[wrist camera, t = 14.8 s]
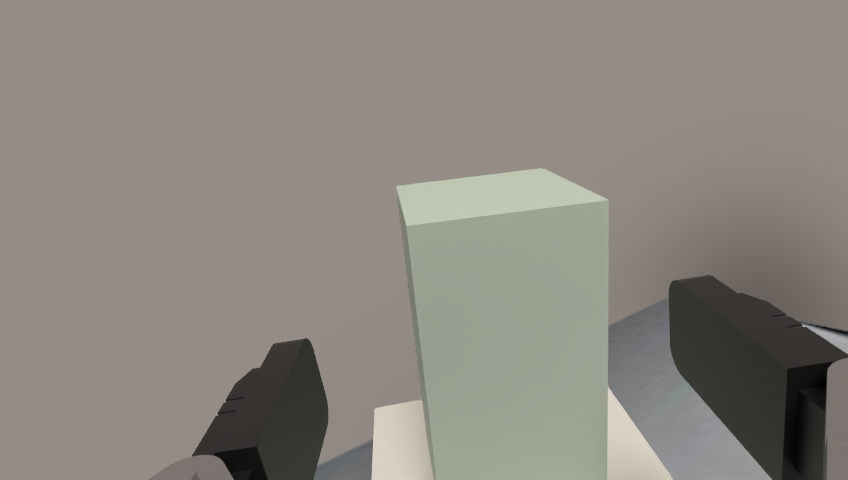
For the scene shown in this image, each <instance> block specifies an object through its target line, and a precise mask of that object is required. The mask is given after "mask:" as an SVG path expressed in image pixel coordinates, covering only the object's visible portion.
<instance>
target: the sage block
mask: <svg viewBox="0 0 848 480" xmlns="http://www.w3.org/2000/svg"><path fill="white" fill-rule="evenodd" d="M396 189H397V198H398V206H399V214H400V223H401V231H402V239H403V247H404V255H405V263H406V271H407V279H408V288H409V296H410V305H411V312H412V321H413V329H414V337H415V346H416V354H417V362H418V370H419V379H420V386H421V394H422V403H423V411H424V420H425V428H426V436H427V443H428V449H429V455H430V461H431V467H432V474H433V480H607V442H608V267H609V265H608V264H609V261H608V260H609V257H608V256H609V254H608V253H609V252H608V251H609V200H607V199H605V198H604V197H601V196H599V195H597V194H595V193H593V192H591V191H589V190H587V189H585V188H583V187H581V186H579V185H577V184H575V183H572V182H570V181H568V180H566V179H564V178H562V177H560V176H558V175H556V174H554V173H552V172H550V171H548V170H546V169H543V168H541V169H533V170H524V171H517V172H508V173H501V174H492V175H484V176H475V177H467V178H459V179H451V180H443V181H434V182H426V183H418V184H411V185H402V186H396Z"/></svg>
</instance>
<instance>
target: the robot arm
mask: <svg viewBox="0 0 848 480" xmlns="http://www.w3.org/2000/svg"><path fill="white" fill-rule="evenodd" d="M669 318H670V347H671V353H672V357H673V360H674V363H675V365H676V367H677V369H678V371H679V373H680V374H681V375H682V376H683V378H684V379H685V380H686V381H687V382H688V383H689V384H690V386H691V387H692V388H693V389H694V390H695V391H696V392H697V394H698V395H699V396H700V397H701V398H702V399H703V400H704V402H705V403H706V404H707V405H708V406H709V407H710V409H711V410H712V411H713V412H714V413H715V414H716V415H717V417H718V418H719V419H720V420H721V421H722V422H723V423H724V425H725V426H726V427H727V428H728V429H729V430H730V431H731V433H732V434H733V435H734V436H735V437H736V438H737V440H738V441H739V442H740V443H741V444H742V445H743V446H744V448H745V449H746V450H747V451H748V452H749V453H750V454H751V456H752V457H753V458H754V459H755V460H756V461H757V462H758V464H759V465H760V466H761V467H762V468H763V469H764V471H765V472H766V473H767V474H768V475H769V476H770V477H771V479H772V480H848V354H846V353H845V352H843V351H842V350H840V349H839V348H837V347H836V346H834V345H833V344H831V343H830V342H828V341H827V340H825V339H824V338H822V337H820V336H819V335H817V334H816V333H814V332H813V331H811V330H810V329H808V328H807V327H802V324H801V323H799V322H797V321H796V320H794V319H793V318H791V317H787V316H786V314H785V313H783V312H782V311H781V310H779V309H777V308H776V307H774V306H773V305H771V304H770V303H768V302H766V301H763V300H761V299H758V298H755V297H752V296H749V295H746V294H743V293H736V292H735V291H733V290H732V289H730V288H729V287H727V286H726V285H724V284H723V283H722V282H720V281H719V280H717V279H716V278H714V277H713V276H710V275H706V276H700V277H694V278H687V279H682V280H675V281H672V283H671V284H670V287H669ZM327 425H328V404H327V398H326V394H325V391H324V387H323V383H322V380H321V376H320V372H319V368H318V365H317V361H316V357H315V354H314V350H313V347H312V344H311V342H310V341H309V340H308V339H307V338H306V339H301V340H294V341H287V342H281V343H275V344H273V346H272V347H271V349H270V351H269V353H268V354H267V356H266V358H265V360H264V362H263V363H262V365H261V367H260V368H256V369H252V370H251V371H250V372H248V373H247V374H246V375H245V376H244V377H243V378H242V379H240V380H239V381H238V382H237V383H236V384H235V385H234V387H233V389H232V390H231V392H230V394H229V395H228V397H227V399H226V403H224V404H223V405H222V407H221V409H220V410H219V412H218V416H216V417H215V419H214V420H213V422H212V424H211V425H210V427H209V429H208V430H207V432H206V434H205V435H204V437H203V439H202V440H201V442H200V443H199V445H198V447H197V448H196V450H195V452H194V454H193V455H192V457H189V458H186V459H183V460H180V461H178V462H176V463H174V464H172V465H170V466H168V467H166V468H165V469H163V470H162V471H160V472H159V473H157V474H156V475H155V476H154V477H152V478H151V479H150V480H313V479H314V475H315V471H316V467H317V463H318V460H319V456H320V452H321V448H322V445H323V441H324V437H325V433H326V429H327Z"/></svg>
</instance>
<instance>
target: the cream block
mask: <svg viewBox="0 0 848 480" xmlns="http://www.w3.org/2000/svg"><path fill="white" fill-rule="evenodd" d="M372 480H433V474H432V467H431V461H430V455H429V449H428V443H427V436H426V428H425V420H424V411H423V403H422V400H417V401H411V402H406V403H401V404H396V405H390V406H385V407H379V408H375V418H374V439H373V460H372ZM607 480H673V478H672V477H671V475H670V474H669V473H668V471H667V470H666V468H665V467H664V465H663V464H662V463H661V461H660V460H659V458H658V457H657V456H656V454H655V453H654V451H653V450H652V448H651V447H650V446H649V444H648V443H647V441H646V440H645V439H644V437H643V436H642V434H641V433H640V431H639V430H638V429H637V427H636V426H635V424H634V423H633V422H632V420H631V419H630V417H629V416H628V414H627V413H626V412H625V410H624V409H623V407H622V406H621V405H620V403H619V402H618V400H617V399H616V397H615V396H614V395H613V393H612V392H611V390H610V389H609V388H608V442H607Z"/></svg>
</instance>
